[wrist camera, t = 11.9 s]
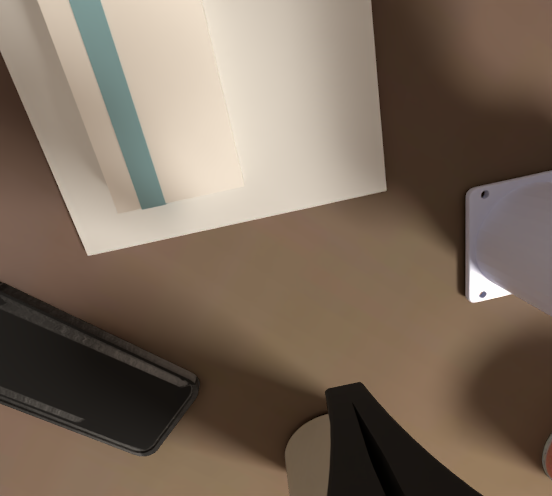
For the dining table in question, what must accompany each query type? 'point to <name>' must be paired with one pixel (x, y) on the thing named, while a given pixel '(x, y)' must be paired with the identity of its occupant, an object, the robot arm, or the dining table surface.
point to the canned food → (547, 457)
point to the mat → (242, 113)
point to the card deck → (147, 97)
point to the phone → (87, 377)
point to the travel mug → (309, 458)
